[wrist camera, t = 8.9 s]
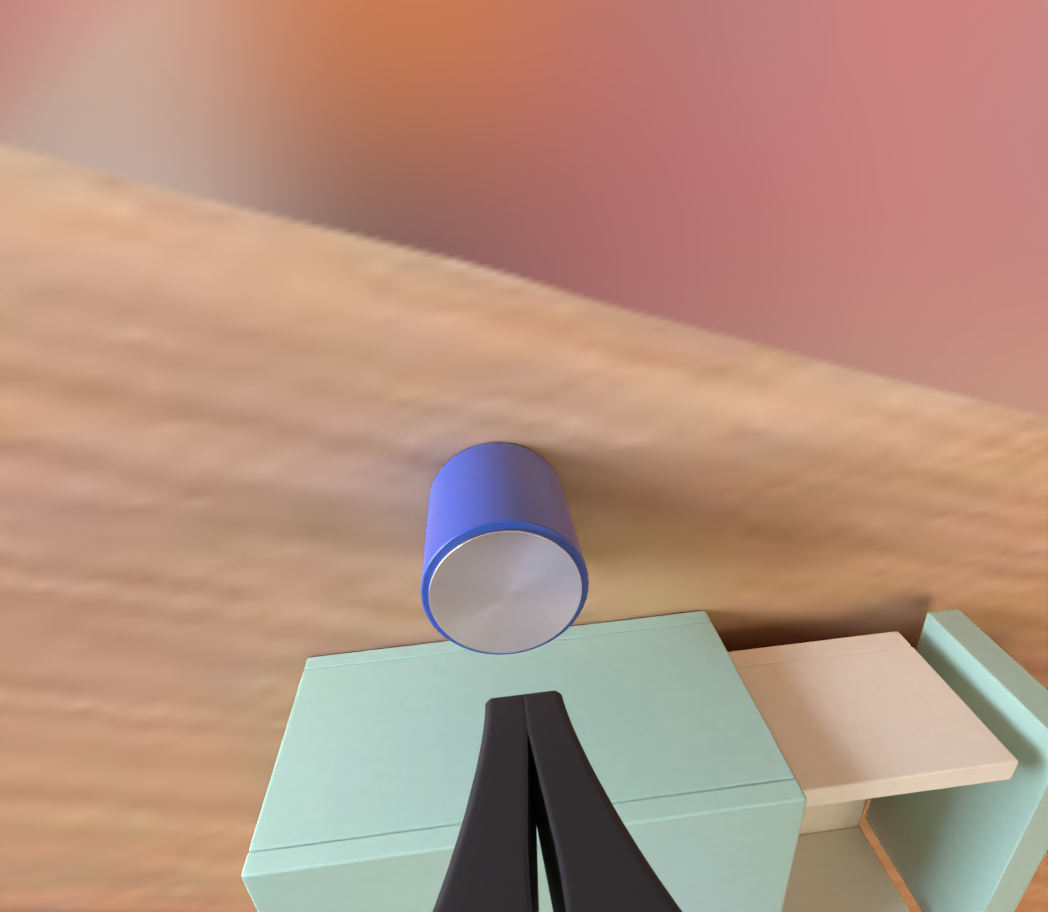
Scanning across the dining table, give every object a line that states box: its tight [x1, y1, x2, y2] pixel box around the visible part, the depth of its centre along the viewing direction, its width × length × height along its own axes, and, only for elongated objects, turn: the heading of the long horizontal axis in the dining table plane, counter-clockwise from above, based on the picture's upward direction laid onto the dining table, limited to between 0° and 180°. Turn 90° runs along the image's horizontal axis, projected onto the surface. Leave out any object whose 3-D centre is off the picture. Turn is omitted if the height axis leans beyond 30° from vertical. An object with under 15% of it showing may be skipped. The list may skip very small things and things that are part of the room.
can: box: [421, 442, 589, 655], centre depth 17 cm, size 4×4×4 cm
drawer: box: [728, 609, 1048, 912], centre depth 22 cm, size 18×12×6 cm, turn 94°
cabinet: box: [241, 611, 807, 912], centre depth 21 cm, size 14×13×7 cm
